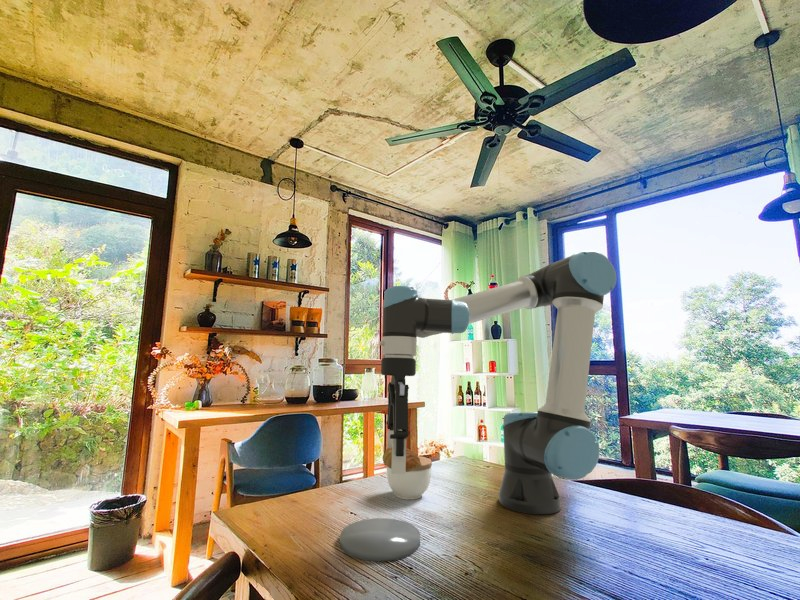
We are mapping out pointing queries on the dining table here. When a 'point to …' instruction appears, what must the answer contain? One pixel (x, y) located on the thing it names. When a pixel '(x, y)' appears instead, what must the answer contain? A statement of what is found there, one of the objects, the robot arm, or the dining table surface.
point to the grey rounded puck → (380, 539)
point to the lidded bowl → (411, 481)
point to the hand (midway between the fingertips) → (395, 466)
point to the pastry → (411, 460)
